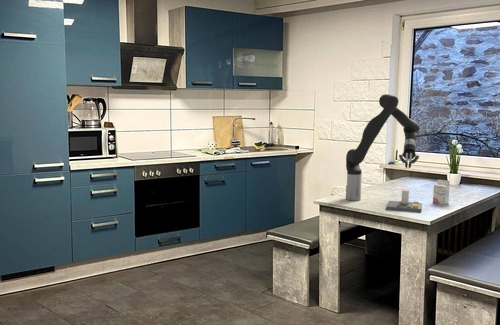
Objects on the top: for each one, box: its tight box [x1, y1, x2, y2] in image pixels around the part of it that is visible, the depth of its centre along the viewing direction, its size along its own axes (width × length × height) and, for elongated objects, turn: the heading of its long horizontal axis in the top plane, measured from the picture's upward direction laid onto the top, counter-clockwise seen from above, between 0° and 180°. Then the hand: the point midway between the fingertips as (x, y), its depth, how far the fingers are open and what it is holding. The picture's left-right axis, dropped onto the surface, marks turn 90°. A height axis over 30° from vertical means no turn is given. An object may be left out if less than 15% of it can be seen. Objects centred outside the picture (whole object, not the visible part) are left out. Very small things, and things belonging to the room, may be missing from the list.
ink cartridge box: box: [432, 179, 451, 205], centre depth 322 cm, size 9×5×15 cm, turn 44°
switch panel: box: [385, 200, 423, 213], centre depth 308 cm, size 20×18×4 cm
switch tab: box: [400, 189, 410, 204], centre depth 311 cm, size 4×4×8 cm
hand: (407, 167), depth 327 cm, fingers closed
